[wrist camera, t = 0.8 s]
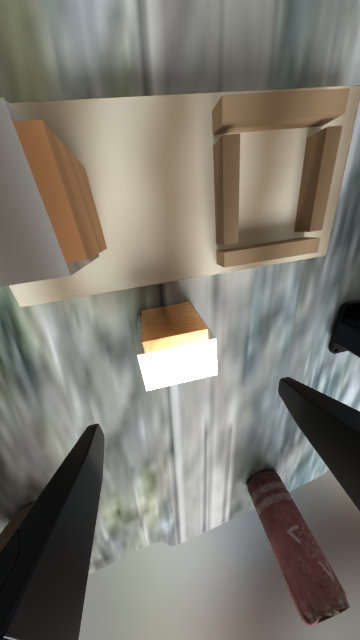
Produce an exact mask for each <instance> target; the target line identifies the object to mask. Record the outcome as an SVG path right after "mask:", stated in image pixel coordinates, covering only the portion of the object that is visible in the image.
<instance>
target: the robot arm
mask: <svg viewBox="0 0 360 640" xmlns="http://www.w3.org/2000/svg"><path fill="white" fill-rule="evenodd" d="M329 351H330V352H332V353H333V354H336V353H340V352H344V351H349V352H351V353H353V354H354V355H356V356H358V357H360V300H357V301H352V302H347V303H345V304H343V306H342V307H341V311H340V314H339V318H338V321H337V325H336V328H335V332H334V335H333V339H332V342H331V346H330V350H329ZM278 392H279V395H280V397H281V398H282V400H283V402H284V403H285V405H286V407H287V408H288V410H289V412H290V413H291V415H292V417H293V419H294V420H295V422H296V423H297V425H298V426H299V428H300V429H301V431H302V432H303V433H304V435H305V436H306V437H307V439H308V440H309V442H310V443H311V444H312V446H313V447H314V449H315V450H316V451H317V453H318V454H319V455H320V457H321V458H322V460H323V461H324V462H325V464H326V465H327V467H328V468H329V469H330V471H331V472H332V473H333V475H334V476H335V478H336V479H337V480H338V482H339V483H340V485H341V486H342V487H343V489H344V490H345V492H346V493H347V494H348V495H349V497H350V498H351V500H352V501H353V502H354V504H355V505H356V507H357V508H358V509H359V511H360V411H357V410H355V409H353V408H351V407H349V406H347V405H345V404H343V403H341V402H339V401H337V400H335V399H333V398H331V397H329V396H327V395H325V394H323V393H321V392H319V391H316V390H314V389H312V388H310V387H308V386H306V385H304V384H302V383H300V382H298V381H296V380H294V379H292V378H290V377H285V378H281V379H280V381H279V388H278ZM103 459H104V434H103V432H102V429H101V427H100V425H99V424H93V425H90V426H88V427H87V428H86V430H85V431H84V433H83V434H82V436H81V437H80V438H79V440H78V441H77V443H76V444H75V446H74V447H73V448H72V450H71V451H70V453H69V454H68V456H67V457H66V458H65V460H64V461H63V463H62V464H61V466H60V467H59V468H58V470H57V471H56V473H55V474H54V476H53V477H52V478H51V480H50V481H49V483H48V484H47V486H46V487H45V488H44V490H43V491H42V493H41V494H40V496H39V497H38V498H37V500H36V501H35V503H34V504H33V506H32V507H31V508H30V510H29V511H28V513H27V514H26V516H25V517H24V518H23V520H22V521H21V523H20V524H19V528H16V530H15V531H14V533H13V534H12V535H11V537H10V538H9V540H8V541H7V542H6V544H5V545H4V547H3V548H2V549H1V551H0V640H78V638H79V631H80V625H81V618H82V611H83V605H84V598H85V591H86V585H87V578H88V571H89V565H90V558H91V551H92V545H93V538H94V531H95V525H96V518H97V511H98V505H99V498H100V491H101V485H102V476H103Z"/></svg>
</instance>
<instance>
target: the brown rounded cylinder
mask: <svg viewBox="0 0 360 640" xmlns="http://www.w3.org/2000/svg"><path fill="white" fill-rule="evenodd" d="M247 487H248V491H249V494H250V496H251V499H252V501H253V503H254V506H255V508H256V511H257V513H258V515H259V518H260V520H261V523H262V525H263V527H264V530H265V532H266V534H267V537H268V539H269V542H270V544H271V546H272V549H273V551H274V554H275V556H276V559H277V561H278V563H279V566H280V568H281V570H282V573H283V575H284V578H285V581H286V583H287V586H288V589H289V592H290V595H291V597H292V600H293V602H294V604H295V606H296V608H297V611H298V612H299V615H300V617H301V619H302V620H303V622H304V623H305V624H306V625H308V626H312V625H315V624H317V623H319V622H322V621H324V620H326V619H329V618H331V617H333V616H335V615H337V614H339V613H341V612H343V611H345V610H347V609H348V608H349V607H350V606H349V604H348V601H347V597H346V593H345V591H344V590H343V588H342V586H341V584H340V582H339V581H338V579H337V577H336V575H335V574H334V572H333V570H332V568H331V566H330V565H329V563H328V561H327V559H326V558H325V556H324V554H323V552H322V551H321V549H320V547H319V545H318V544H317V542H316V540H315V538H314V537H313V535H312V533H311V531H310V529H309V528H308V526H307V525H306V522H305V521H304V519H303V517H302V516H301V514H300V512H299V510H298V508H297V507H296V505H295V503H294V501H293V500H292V498H291V496H290V494H289V492H288V491H287V489H286V487H285V485H284V484H283V482H282V480H281V478H280V477H279V475H278V474H277V473H276V472H275V471H273V470H264V471H261V472H258V473H257V474H255V475H253V476H252V477H251V478H250V479H249V481H248V486H247Z"/></svg>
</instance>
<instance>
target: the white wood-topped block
mask: <svg viewBox="0 0 360 640" xmlns="http://www.w3.org/2000/svg"><path fill="white" fill-rule="evenodd" d="M137 357H138V361H139V365H140V368H141V372H142V376H143V379H144V383H145V387H146V390H147V391H149V390H153V389H157V388H162V387H166V386H170V385H175V384H179V383H183V382H187V381H192V380H196V379H200V378H205V377H209V376H213V375H217V353H216V338H215V336H214V335H213V334H212V332H211V331H210V329H209V328H208V327H207V325H206V324H205V322H204V321H203V319H202V318H201V317H200V315H199V314H198V312H197V311H196V309H195V308H194V307H193V305H191V304H190V303H189V302H185V303H179V304H174V305H168V306H163V307H157V308H152V309H146V310H142V315H138V327H137Z"/></svg>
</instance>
